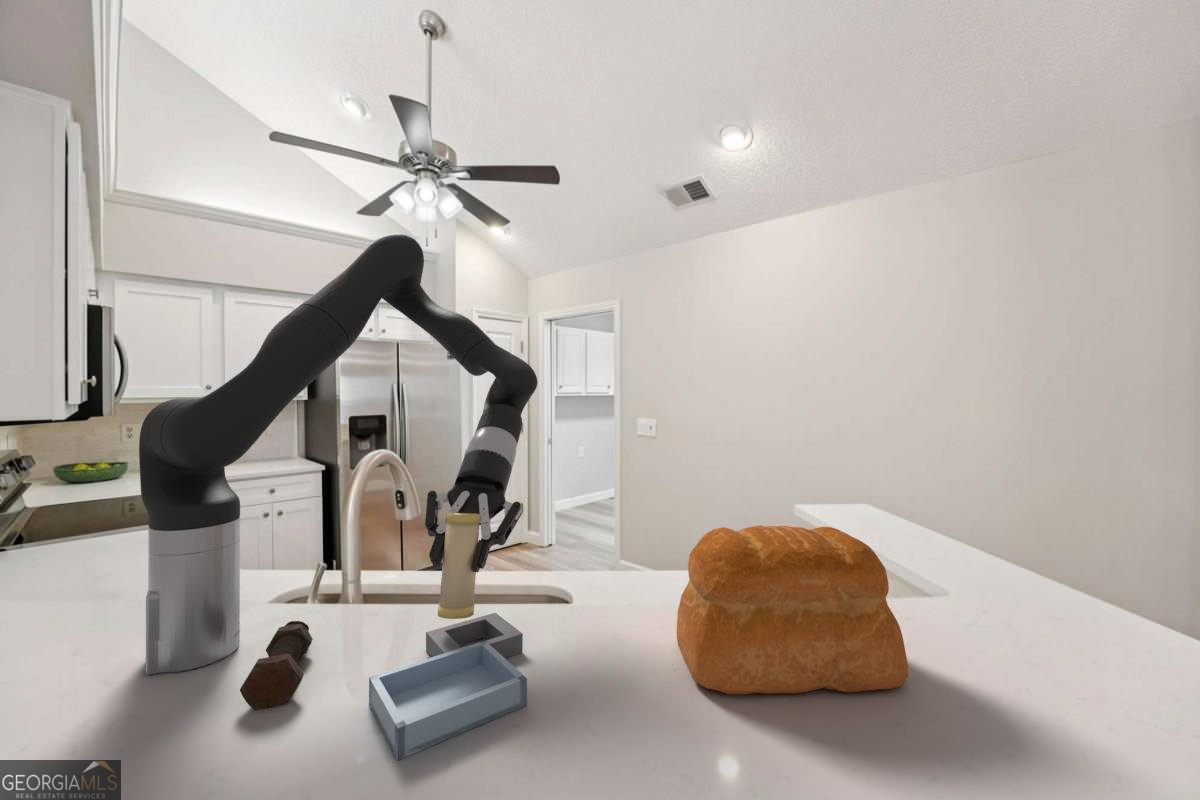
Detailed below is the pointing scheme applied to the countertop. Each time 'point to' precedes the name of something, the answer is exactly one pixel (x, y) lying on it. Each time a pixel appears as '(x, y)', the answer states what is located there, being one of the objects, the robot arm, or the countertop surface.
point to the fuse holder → (476, 636)
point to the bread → (788, 613)
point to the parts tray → (444, 696)
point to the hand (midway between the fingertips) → (454, 566)
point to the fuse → (459, 566)
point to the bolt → (278, 668)
